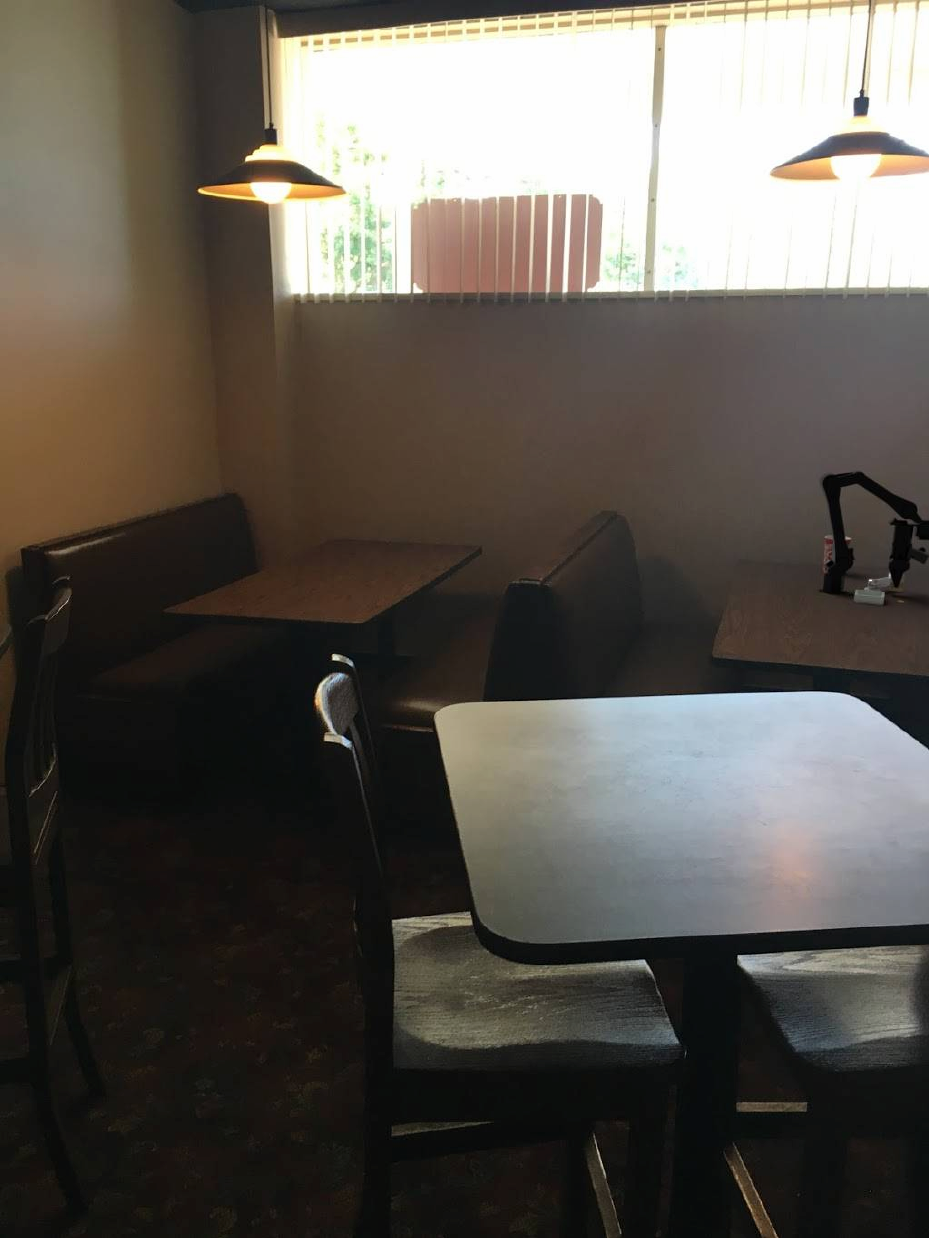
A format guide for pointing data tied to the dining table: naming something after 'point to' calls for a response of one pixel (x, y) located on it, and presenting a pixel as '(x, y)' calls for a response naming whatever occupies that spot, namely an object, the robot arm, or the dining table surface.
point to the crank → (879, 582)
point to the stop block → (900, 587)
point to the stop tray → (869, 597)
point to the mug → (830, 549)
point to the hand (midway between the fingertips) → (896, 586)
